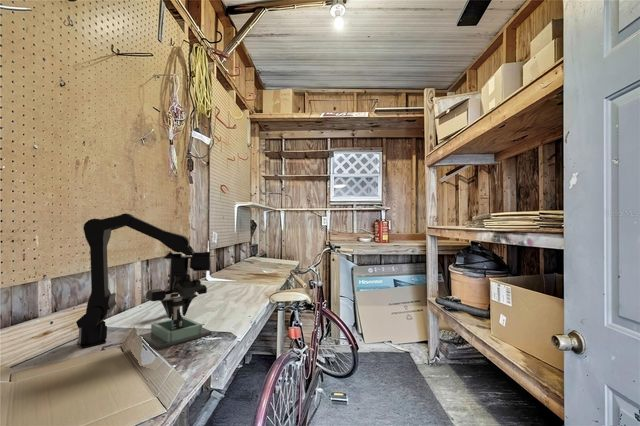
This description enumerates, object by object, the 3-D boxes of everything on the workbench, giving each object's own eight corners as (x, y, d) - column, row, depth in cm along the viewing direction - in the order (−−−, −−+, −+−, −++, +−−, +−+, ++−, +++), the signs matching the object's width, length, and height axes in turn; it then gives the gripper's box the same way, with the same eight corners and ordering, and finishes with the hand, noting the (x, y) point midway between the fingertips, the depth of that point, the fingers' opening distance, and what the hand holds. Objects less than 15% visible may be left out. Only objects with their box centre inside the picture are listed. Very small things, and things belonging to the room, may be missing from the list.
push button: (180, 330, 101) (180, 300, 101) (164, 331, 100) (163, 300, 101) (187, 323, 107) (187, 295, 108) (171, 324, 107) (171, 296, 107)
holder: (168, 342, 95) (168, 332, 95) (150, 332, 104) (151, 323, 104) (202, 333, 104) (202, 324, 104) (183, 325, 112) (184, 316, 113)
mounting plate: (157, 349, 92) (157, 345, 92) (139, 337, 101) (140, 334, 101) (211, 334, 106) (211, 331, 106) (191, 325, 115) (191, 322, 115)
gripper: (160, 277, 93) (158, 328, 92) (215, 271, 107) (214, 316, 106) (146, 273, 100) (144, 321, 99) (200, 268, 114) (198, 310, 113)
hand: (176, 317), depth 104 cm, fingers closed on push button, 4 cm apart
